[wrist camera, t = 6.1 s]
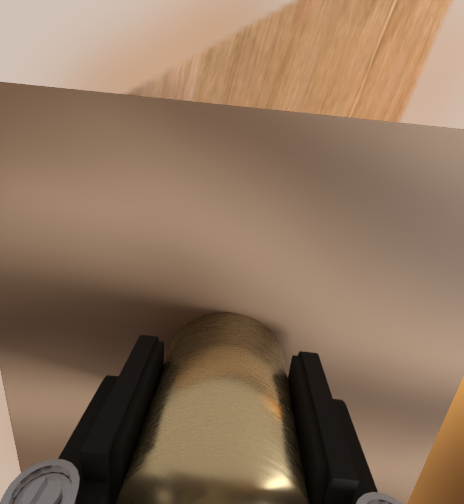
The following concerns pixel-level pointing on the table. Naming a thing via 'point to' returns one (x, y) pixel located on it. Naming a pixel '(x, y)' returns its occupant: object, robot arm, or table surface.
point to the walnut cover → (228, 282)
